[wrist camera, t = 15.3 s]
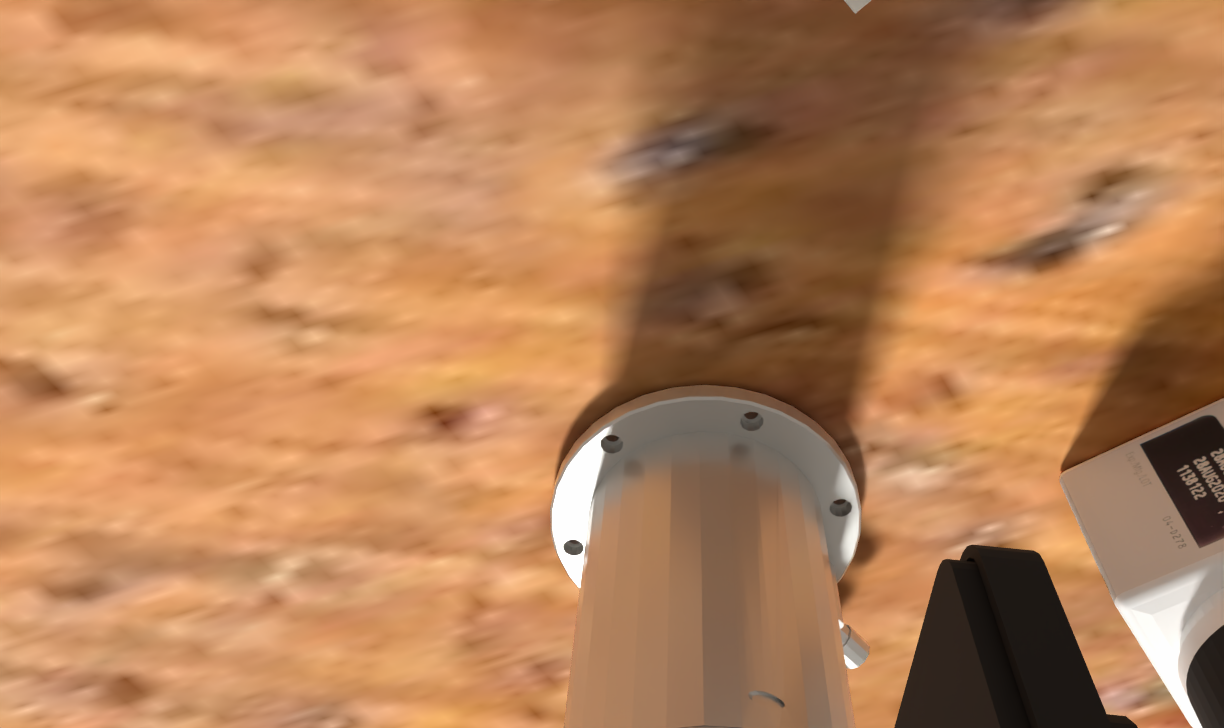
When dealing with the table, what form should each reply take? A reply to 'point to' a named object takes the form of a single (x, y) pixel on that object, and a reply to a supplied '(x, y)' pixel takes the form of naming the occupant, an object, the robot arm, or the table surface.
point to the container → (1164, 549)
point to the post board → (856, 4)
